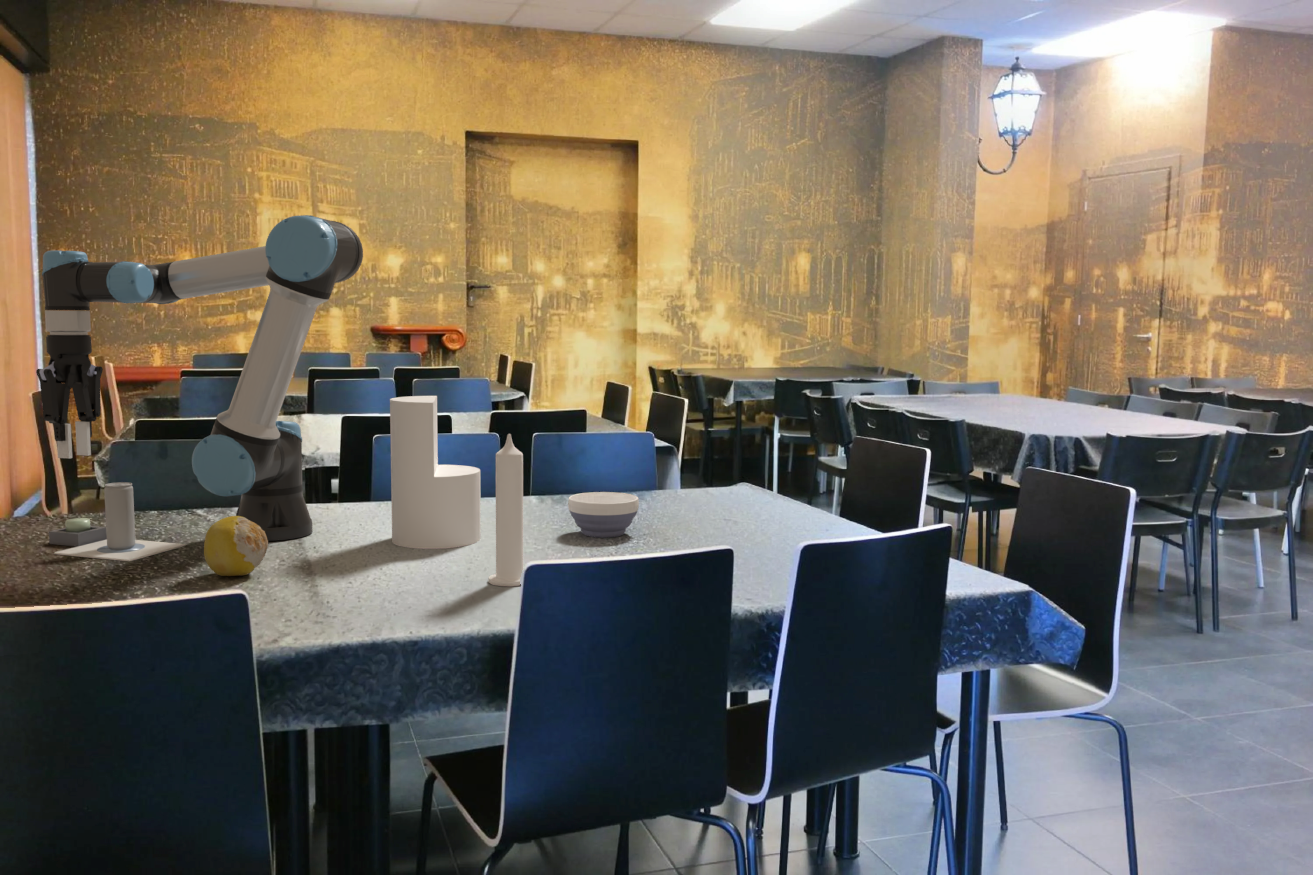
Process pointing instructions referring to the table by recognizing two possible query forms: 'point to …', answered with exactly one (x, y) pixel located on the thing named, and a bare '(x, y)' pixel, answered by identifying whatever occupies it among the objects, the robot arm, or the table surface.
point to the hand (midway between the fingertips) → (74, 456)
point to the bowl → (603, 512)
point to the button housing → (77, 536)
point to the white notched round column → (429, 482)
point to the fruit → (234, 546)
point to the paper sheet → (136, 552)
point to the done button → (77, 525)
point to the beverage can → (119, 515)
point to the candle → (509, 516)
